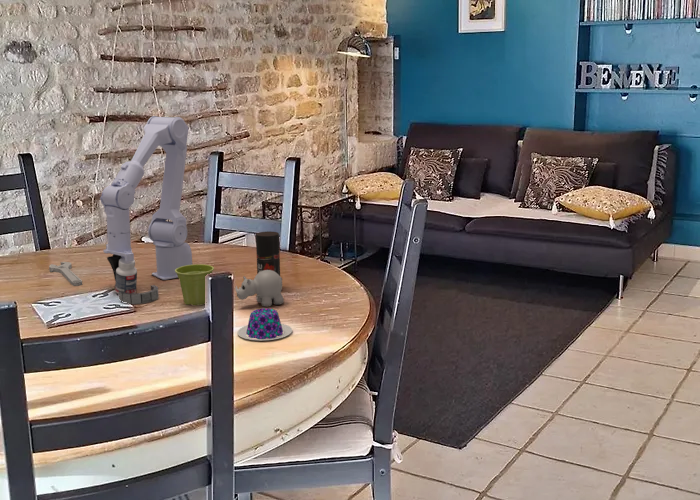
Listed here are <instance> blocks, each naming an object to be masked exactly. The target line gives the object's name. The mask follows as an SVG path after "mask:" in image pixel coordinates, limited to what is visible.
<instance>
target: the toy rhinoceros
mask: <svg viewBox="0 0 700 500" xmlns="http://www.w3.org/2000/svg"><path fill="white" fill-rule="evenodd" d="M282 289H283V278H282V277H281V275H280V276H279V275H278V274H277V273H276V272H274V271H272V270H263V271H261V272H259V273H258V274H256V275H255V277H254V278H253V279H251V278H247V277H246V276H245V275H244V276H243V281H242V282H241V286H239V288H238V285H236V286H235V290H234V291H235V292H236V297H237V298H238V299H239V300H243V301H244V300H245V299H247V298H248V297H252V296H254V295H256V302H257V303H259V304H261V306H262V307H263V308H264V307H265V308H266V307H268V308H269V307H271V306H272V305H273V304H274V305H281V304H283V303H284V302H285V301H284V300H285V299H284V296H283V294H282Z"/></svg>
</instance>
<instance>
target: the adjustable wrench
mask: <svg viewBox="0 0 700 500" xmlns="http://www.w3.org/2000/svg"><path fill="white" fill-rule="evenodd" d="M72 266H73V265H72V262H70V261H60V265H56V264H53V263H52V264H49V272H50V273H59V274H61V275H62V276H63V277H64V278H65V279H66V280H67V281H68V283H70V285H71V286H73V287H79V286H82V285H83V280H82V279H81V278H80V277H79V276H78V275H76V274H75V273H74V272H73V271H72V270H71V269H72V268H73V267H72Z"/></svg>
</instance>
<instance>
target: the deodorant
mask: <svg viewBox="0 0 700 500" xmlns="http://www.w3.org/2000/svg"><path fill="white" fill-rule="evenodd" d="M255 247H256V248H255V250H256V271H257V274H258V273H259V272H261V271H263V270H272V271H274V272H276V273H277V274H278V275H279V276H280V277H281V260H280V259H281V258H280V254H281V253H280V233H279V232H276V231H268V230H267V231H260V232H257V233H255ZM257 274H256V275H257Z"/></svg>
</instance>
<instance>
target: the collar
mask: <svg viewBox="0 0 700 500" xmlns="http://www.w3.org/2000/svg"><path fill="white" fill-rule="evenodd" d="M118 292H119V294H118V300H119V299H120V300H121V301H123V302H127V303H129V304H128V305H142V304H149V303H153V302H154V301H156V300H158V299H159V297H160V296H159V287H158V286H157V285H155V284H153V285H150V290H149V291H144V292H135V293H125V292H124V291H118Z"/></svg>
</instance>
